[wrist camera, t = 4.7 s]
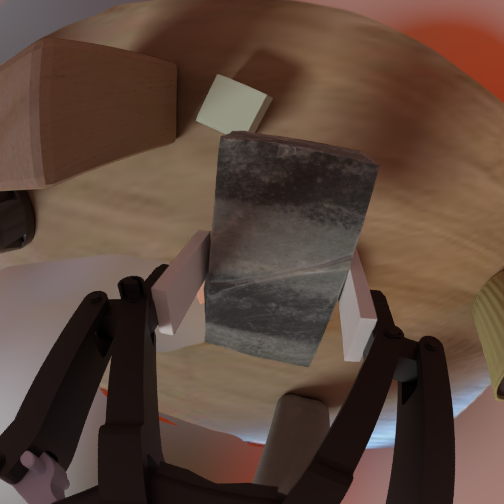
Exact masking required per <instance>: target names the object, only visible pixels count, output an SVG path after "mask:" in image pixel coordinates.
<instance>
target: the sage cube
mask: <svg viewBox="0 0 504 504" xmlns="http://www.w3.org/2000/svg"><path fill="white" fill-rule="evenodd" d="M272 100H273V98H272V97H270V96H268V95H267V94H264V93H262V92H260V91H258V90H256V89H253V88H251V87H249V86H246V85H244V84H242V83H239V82H237V81H235V80H232V79H230V78H227V77H225V76H222V75H219V74H217V76H216V78H215V80H214V82H213V84H212V86H211V88H210V90H209V93H208V95H207V97H206V99H205V101H204V103H203V105H202V107H201V110H200V112H199V114H198V116H197V119H196V121H198V122H200V123H202V124H204V125H207V126H209V127H211V128H213V129H216V130H218V131H220V132H222V133H224V134H226V135H227V134H229V133H231V132H232V131H247V132H250V133H255V132H256V130H257V128H258V126H259V124H260V122H261V120H262V118H263V116H264V115H265V113H266V111H267V109H268V107H269V105H270V103H271V101H272Z"/></svg>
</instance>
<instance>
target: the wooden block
mask: <svg viewBox="0 0 504 504" xmlns="http://www.w3.org/2000/svg"><path fill="white" fill-rule="evenodd" d="M176 102H177V66H176V64H175V63H172V62H169V61H166V60H162V59H159V58H155V57H152V56H148V55H144V54H140V53H136V52H132V51H128V50H123V49H119V48H114V47H109V46H104V45H99V44H93V43H87V42H80V41H73V40H65V39H55V38H44V39H42V40H39V41H37V42H35V43H34V44H32V45H30V46H29V47H27V48H26V49H24V50H23V51H21V52H19V53H18V54H16V55H15V56H14V57H12V58H11V59H9V60H8V61H6V62H5V63H4V64H2V65H1V66H0V191H10V190H30V189H49V188H51V187H53V186H55V185H58V184H60V183H62V182H64V181H67V180H69V179H71V178H74V177H76V176H79V175H81V174H84V173H86V172H89V171H91V170H94V169H97V168H99V167H102V166H105V165H107V164H110V163H113V162H116V161H119V160H121V159H124V158H127V157H130V156H133V155H137V154H140V153H143V152H146V151H149V150H153V149H156V148H159V147H163V146H166V145H169V144H171V143H173V142H174V141H175V138H176Z"/></svg>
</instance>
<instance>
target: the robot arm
mask: <svg viewBox="0 0 504 504" xmlns="http://www.w3.org/2000/svg"><path fill="white" fill-rule="evenodd" d="M34 232H35V219H34V213H33V208H32V205H31V201H30V199H29V196H28V194H27V191H26V190H10V191H0V253H4V252H9V251H13V250H17V249H21V248H23V247H25V246H26V245H28V244H29V243H30V242H31V241H32V239H33V237H34ZM210 247H211V241H210V231H203V230H199V231H198V232H197V233H196V234H195V235H194V236H193V238H192V239H191V240H190V241H189V242H188V244H187V245H186V246H185V247H184V248H183V250H182V251H181V252H180V253H179V254H178V256H177V257H176V258H175V259H174V260H173V262H172V263H171V264H170V265H167V264H162V265H160V266H159V267H157V268H155V270H154V271H153V272H152V274H150V275H149V277H148V278H147V279H146V280H145V281H144V280H143V279H142V278H141V277H138V276H129V277H126V278H123V279H122V280H120V281H119V283H118V288H119V292H120V296H121V299H108V297H107V294H106V293H105V292H102V291H94V292H92V293H90V294H88V295H87V296H86V297H85V298H84V299H83V301H82V302H81V304H80V305H79V307H78V308H77V310H76V311H75V313H74V314H73V316H72V317H71V319H70V320H69V322H68V323H67V325H66V327H65V328H64V330H63V331H62V333H61V334H60V336H59V338H58V339H57V341H56V342H55V344H54V346H53V347H52V349H51V351H50V352H49V354H48V356H47V358H46V360H45V361H44V363H43V365H42V366H41V368H40V370H39V372H38V374H37V375H36V377H35V379H34V381H33V383H32V385H31V387H30V389H29V391H28V393H27V395H26V397H25V399H24V401H23V403H22V405H21V407H20V409H19V411H18V413H17V415H16V418H15V420H14V421H13V422H12V423H11V424H10V426H8V428H7V429H6V430H5V431H4V432H3V433H2V434H1V436H0V479H2V480H4V481H5V482H7V483H8V484H10V485H12V486H13V487H14V488H15V489H16V490H17V492H18V493H19V494H20V495H21V496H22V497H23V498H24V499H25V500H26V502H27V503H28V504H340V503H341V501H342V500H343V498H344V496H345V494H346V493H347V491H348V489H349V487H350V485H351V483H352V481H353V473H354V470H355V469H356V467H357V464H358V463H359V461H360V458H361V456H362V454H363V452H364V450H365V448H366V446H367V444H368V441H369V439H370V437H371V435H372V432H373V430H374V427H375V425H376V423H377V420H378V418H379V415H380V413H381V410H382V407H383V405H384V402H385V399H386V396H387V394H388V391H389V388H390V385H391V382H392V379H394V380H397V381H398V402H397V422H396V435H395V446H394V455H393V464H392V471H391V478H390V484H389V489H388V495H387V500H386V504H453V497H454V481H455V436H454V418H453V407H452V398H451V390H450V382H449V376H448V369H447V363H446V358H445V353H444V347H443V345H442V343H441V342H440V341H439V340H438V339H436V338H435V337H432V336H424V337H422V338H421V339H420V341H419V342H417V341H413V340H410V339H407V338H405V337H404V333H403V332H402V330H401V329H400V328H399V327H397V326H395V324H394V321H393V318H392V315H391V312H390V309H389V306H388V304H387V300H386V297H385V296H384V295H383V293H382V292H381V291H378V290H369V287H368V283H367V280H366V277H365V274H364V270H363V267H362V264H361V261H360V258H359V255H358V252H357V249H356V248H355V251H354V253H353V260H352V264H351V268H350V269H349V270H348V273H347V276H346V279H345V281H344V284H343V287H342V289H341V292H340V295H339V297H338V301H339V309H340V318H341V328H342V338H343V349H344V361H353V362H360V360H361V357H362V355H363V357H364V362H363V364H362V366H361V368H360V370H359V372H358V375H357V377H356V379H355V381H354V383H353V385H352V387H351V390H350V392H349V394H348V396H347V397H346V399H345V401H344V403H343V405H342V407H341V409H340V411H339V413H338V415H337V416H336V418H335V420H334V422H333V424H332V425H331V427H330V429H329V431H328V432H327V434H326V436H325V437H324V439H323V441H322V442H321V444H320V446H319V447H318V449H317V451H316V452H315V454H314V455H313V457H312V458H311V460H310V462H309V463H308V465H307V466H306V468H305V469H304V471H303V472H302V474H301V475H300V476H299V478H298V479H297V481H296V482H295V483H294V485H293V486H292V487H291V489H290V490H289V491H288V493H287V494H283V493H281V492H278V487H277V486H268V485H260V484H253V483H231V484H217V483H213V482H211V481H209V480H207V479H205V478H203V477H201V476H199V475H197V474H195V473H193V472H191V471H190V470H187V469H184V468H181V467H177V466H174V465H171V464H167V463H165V461H164V457H163V454H162V447H161V438H160V427H159V415H158V398H157V375H156V334H155V329H156V327H157V325H159V330H160V333H164V334H169V335H173V336H174V334H175V332H176V330H177V328H178V327H179V325H180V323H181V321H182V319H183V318H184V316H185V314H186V312H187V311H188V309H189V307H190V305H191V304H192V302H193V300H194V298H195V296H196V295H197V293H198V291H199V289H200V288H201V286H202V284H203V282H204V281H205V279H206V277H207V275H208V274H209V261H210ZM111 355H112V357H111ZM110 358H111V365H110V374H109V384H108V395H107V409H106V422H105V425H102V426H101V427H100V428H99V434H98V485H97V486H95V487H92V488H90V489H87V490H85V491H83V492H80V493H77V494H75V495H72V496H69V497H67V498H65V495H64V490H66V489H68V487H69V484H70V483H69V480H68V479H67V474H66V471H67V469H68V467H69V465H70V463H71V461H72V459H73V457H74V454H75V451H76V448H77V445H78V442H79V439H80V436H81V433H82V430H83V427H84V424H85V421H86V418H87V416H88V413H89V410H90V408H91V405H92V402H93V400H94V397H95V394H96V392H97V389H98V387H99V384H100V382H101V379H102V377H103V374H104V372H105V370H106V367H107V365H108V362H109V360H110Z"/></svg>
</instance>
